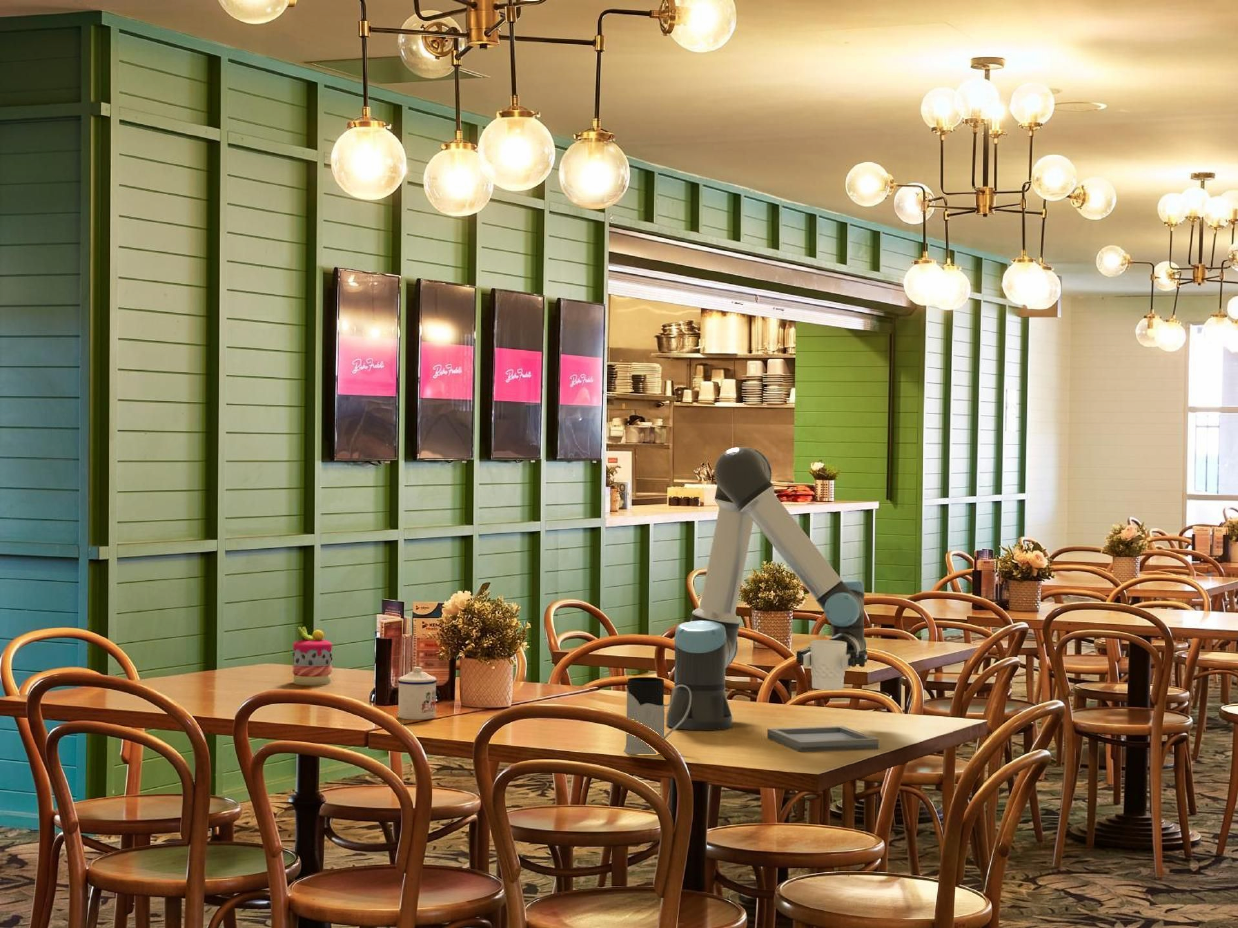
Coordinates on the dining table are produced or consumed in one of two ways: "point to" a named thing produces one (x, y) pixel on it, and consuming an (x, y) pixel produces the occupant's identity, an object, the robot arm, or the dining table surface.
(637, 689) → the glass holder
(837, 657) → the white cup
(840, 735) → the serving tray
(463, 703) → the dining table surface
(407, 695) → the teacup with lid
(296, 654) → the cake
